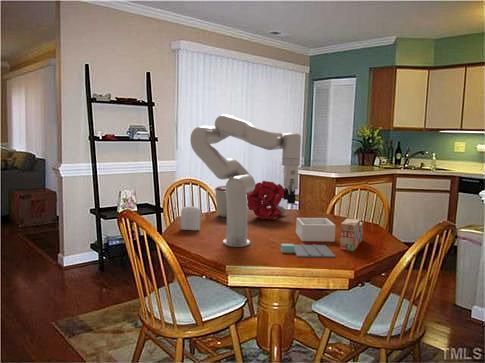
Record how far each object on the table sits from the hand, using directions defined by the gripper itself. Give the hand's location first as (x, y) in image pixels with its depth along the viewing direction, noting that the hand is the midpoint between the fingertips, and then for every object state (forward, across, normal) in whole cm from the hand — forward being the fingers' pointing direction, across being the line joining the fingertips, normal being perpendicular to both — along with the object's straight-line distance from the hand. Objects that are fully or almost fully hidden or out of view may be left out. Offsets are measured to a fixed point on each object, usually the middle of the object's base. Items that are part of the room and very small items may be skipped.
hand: (289, 201), depth 177 cm
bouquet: (+23, +68, 0) cm, 72 cm away
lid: (+22, 0, -8) cm, 24 cm away
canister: (+23, +74, +24) cm, 81 cm away
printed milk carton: (+22, +12, -33) cm, 41 cm away
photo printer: (+23, +38, +45) cm, 63 cm away
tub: (+22, +25, -18) cm, 38 cm away
